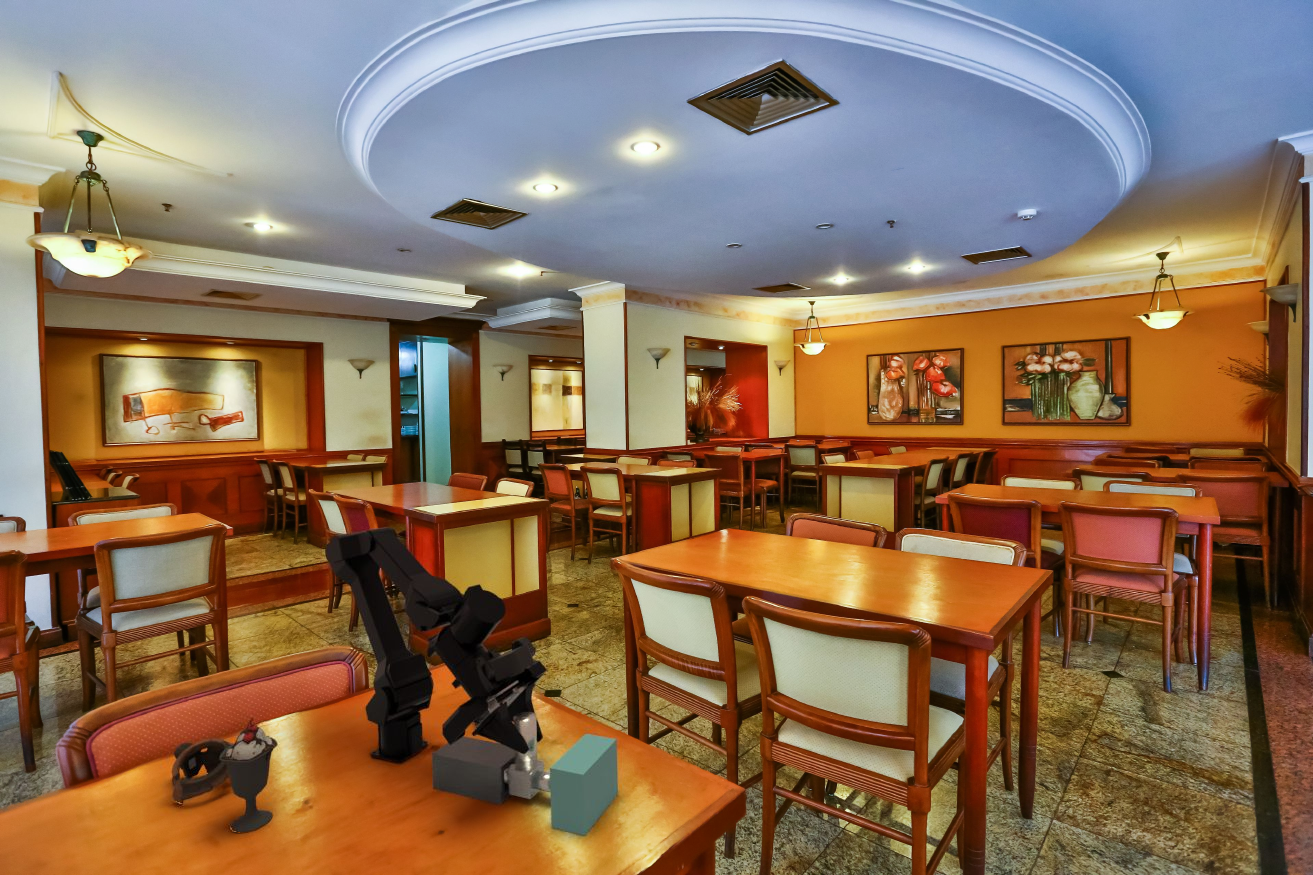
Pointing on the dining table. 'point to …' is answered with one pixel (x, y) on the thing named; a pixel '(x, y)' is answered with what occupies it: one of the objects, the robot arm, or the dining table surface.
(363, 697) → the dining table surface
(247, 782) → the sundae
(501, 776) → the grey rectangular box
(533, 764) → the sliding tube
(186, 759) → the strapped goggles
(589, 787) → the teal block
